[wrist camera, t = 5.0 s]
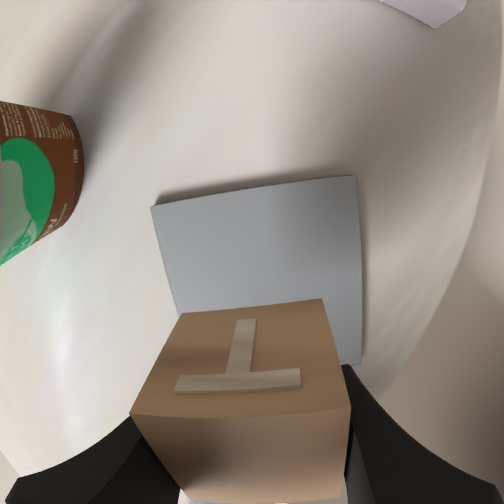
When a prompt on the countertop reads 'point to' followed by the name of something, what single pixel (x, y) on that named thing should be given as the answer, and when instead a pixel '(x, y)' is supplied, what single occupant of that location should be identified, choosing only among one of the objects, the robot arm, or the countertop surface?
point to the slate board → (269, 251)
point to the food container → (36, 175)
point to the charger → (429, 9)
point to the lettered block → (249, 405)
